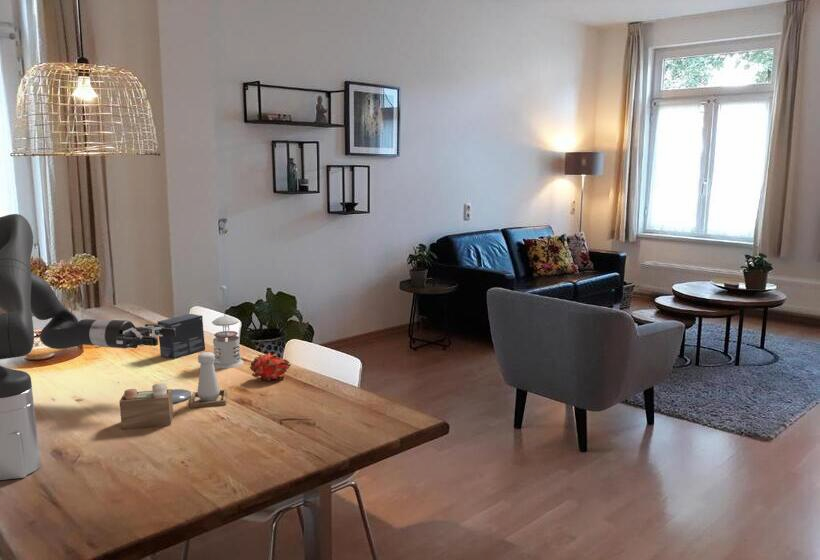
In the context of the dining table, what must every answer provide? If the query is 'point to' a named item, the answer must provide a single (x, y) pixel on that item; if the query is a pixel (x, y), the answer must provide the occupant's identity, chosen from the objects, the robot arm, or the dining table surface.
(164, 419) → the caddy
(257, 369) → the dragon fruit
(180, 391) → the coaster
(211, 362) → the salt shaker
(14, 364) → the dining table surface
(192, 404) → the holder
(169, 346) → the small box
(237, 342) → the french press
